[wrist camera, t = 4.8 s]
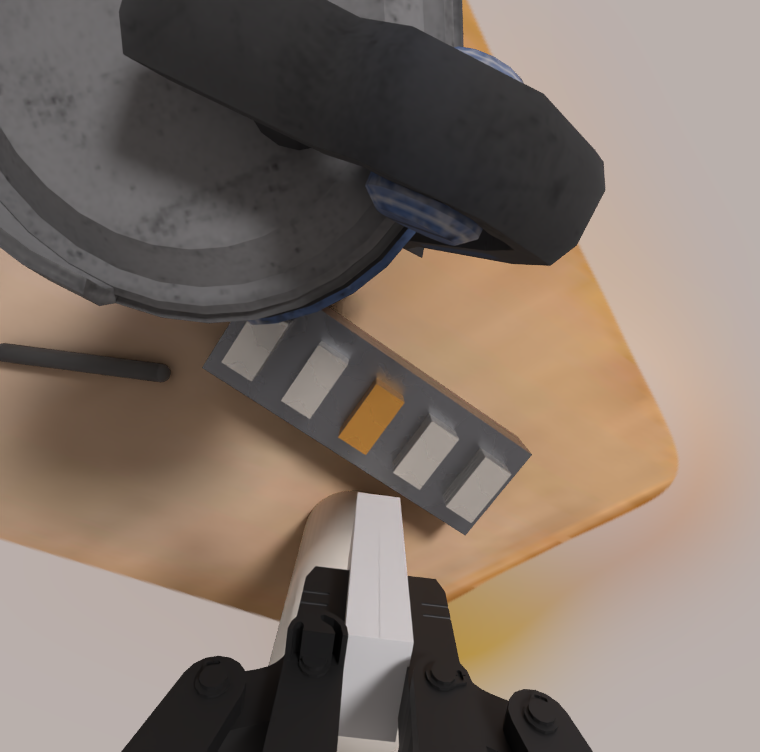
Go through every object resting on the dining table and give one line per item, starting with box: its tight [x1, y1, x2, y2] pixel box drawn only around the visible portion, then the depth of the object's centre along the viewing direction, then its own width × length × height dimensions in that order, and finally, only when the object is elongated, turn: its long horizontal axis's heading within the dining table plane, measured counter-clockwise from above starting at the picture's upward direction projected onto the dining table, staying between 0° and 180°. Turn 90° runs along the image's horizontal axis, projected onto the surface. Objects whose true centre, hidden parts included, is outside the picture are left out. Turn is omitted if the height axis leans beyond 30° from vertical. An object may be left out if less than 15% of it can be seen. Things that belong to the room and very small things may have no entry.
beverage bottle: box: [0, 0, 605, 325], centre depth 17 cm, size 10×13×25 cm
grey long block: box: [202, 307, 532, 535], centre depth 30 cm, size 20×7×5 cm, turn 55°
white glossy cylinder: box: [269, 491, 399, 752], centre depth 28 cm, size 7×7×14 cm
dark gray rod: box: [0, 343, 171, 382], centre depth 31 cm, size 11×1×1 cm, turn 82°
